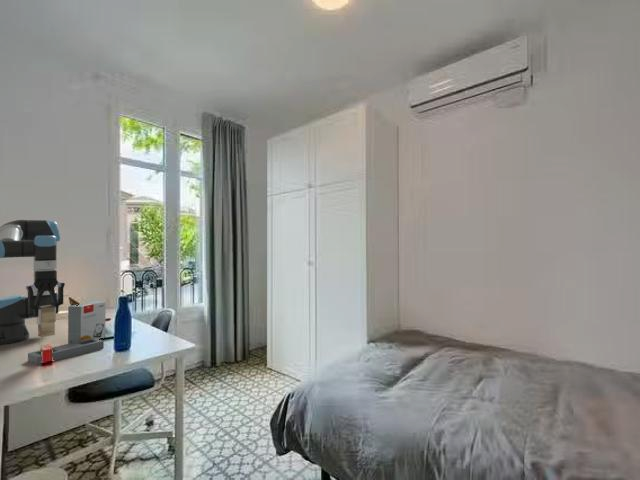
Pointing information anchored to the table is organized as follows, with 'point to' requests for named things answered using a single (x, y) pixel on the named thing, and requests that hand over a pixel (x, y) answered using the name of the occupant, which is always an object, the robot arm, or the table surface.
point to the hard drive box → (86, 321)
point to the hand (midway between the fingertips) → (46, 322)
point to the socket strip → (68, 350)
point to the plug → (47, 321)
